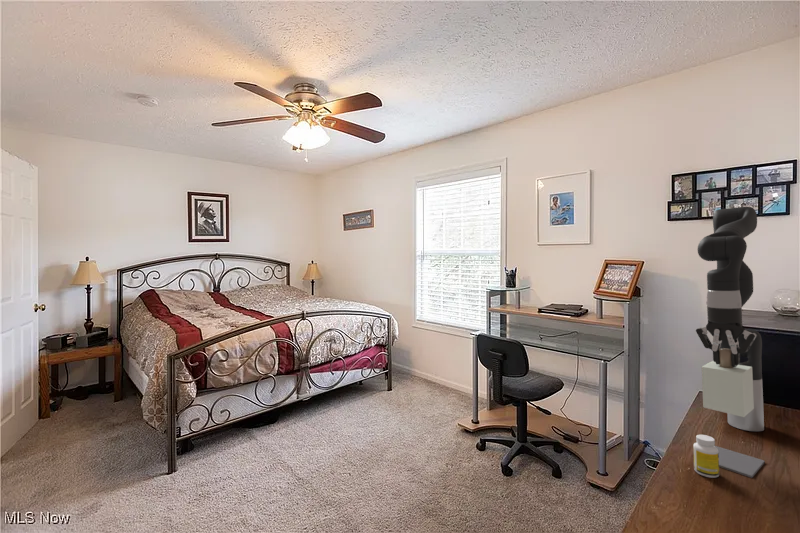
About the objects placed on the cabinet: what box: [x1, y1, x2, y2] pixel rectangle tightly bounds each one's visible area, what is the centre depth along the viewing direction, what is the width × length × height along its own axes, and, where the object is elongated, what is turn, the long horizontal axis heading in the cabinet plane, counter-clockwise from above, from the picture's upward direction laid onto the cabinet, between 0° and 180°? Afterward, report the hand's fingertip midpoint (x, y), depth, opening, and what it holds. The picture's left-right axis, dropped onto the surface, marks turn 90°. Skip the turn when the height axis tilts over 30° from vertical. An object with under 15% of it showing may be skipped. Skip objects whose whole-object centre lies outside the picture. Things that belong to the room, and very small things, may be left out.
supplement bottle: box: [692, 434, 720, 479], centre depth 103 cm, size 5×5×10 cm
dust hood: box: [701, 348, 754, 417], centre depth 107 cm, size 9×9×17 cm
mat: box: [714, 444, 765, 479], centre depth 108 cm, size 12×12×1 cm
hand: (726, 364), depth 107 cm, fingers closed on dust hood, 3 cm apart
